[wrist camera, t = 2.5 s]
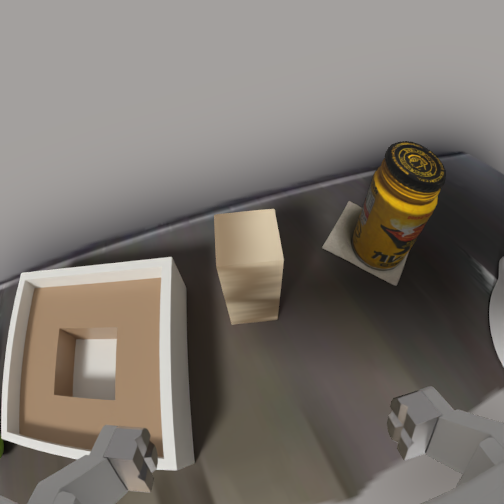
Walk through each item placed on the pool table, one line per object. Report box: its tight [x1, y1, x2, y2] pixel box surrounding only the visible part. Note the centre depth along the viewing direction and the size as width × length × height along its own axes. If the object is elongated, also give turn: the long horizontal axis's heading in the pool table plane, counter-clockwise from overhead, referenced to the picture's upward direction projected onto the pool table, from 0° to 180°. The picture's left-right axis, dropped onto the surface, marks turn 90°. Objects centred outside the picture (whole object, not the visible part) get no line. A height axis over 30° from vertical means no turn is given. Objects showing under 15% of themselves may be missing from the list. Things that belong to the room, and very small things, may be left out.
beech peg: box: [214, 209, 284, 324], centre depth 24 cm, size 4×4×10 cm
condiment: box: [322, 141, 446, 286], centre depth 26 cm, size 7×8×12 cm
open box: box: [1, 257, 195, 470], centre depth 22 cm, size 16×16×6 cm
